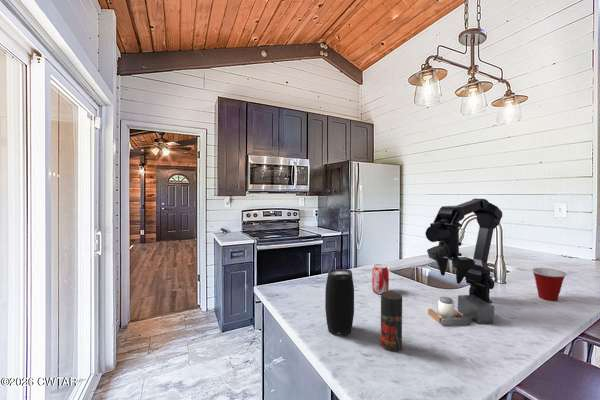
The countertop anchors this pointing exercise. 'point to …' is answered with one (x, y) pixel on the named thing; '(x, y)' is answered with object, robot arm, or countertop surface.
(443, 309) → the white rounded cylinder
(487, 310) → the grey angular piece
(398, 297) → the deodorant
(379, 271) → the soda can
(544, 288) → the plastic cup
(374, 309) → the countertop surface
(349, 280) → the portable speaker
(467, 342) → the countertop surface
